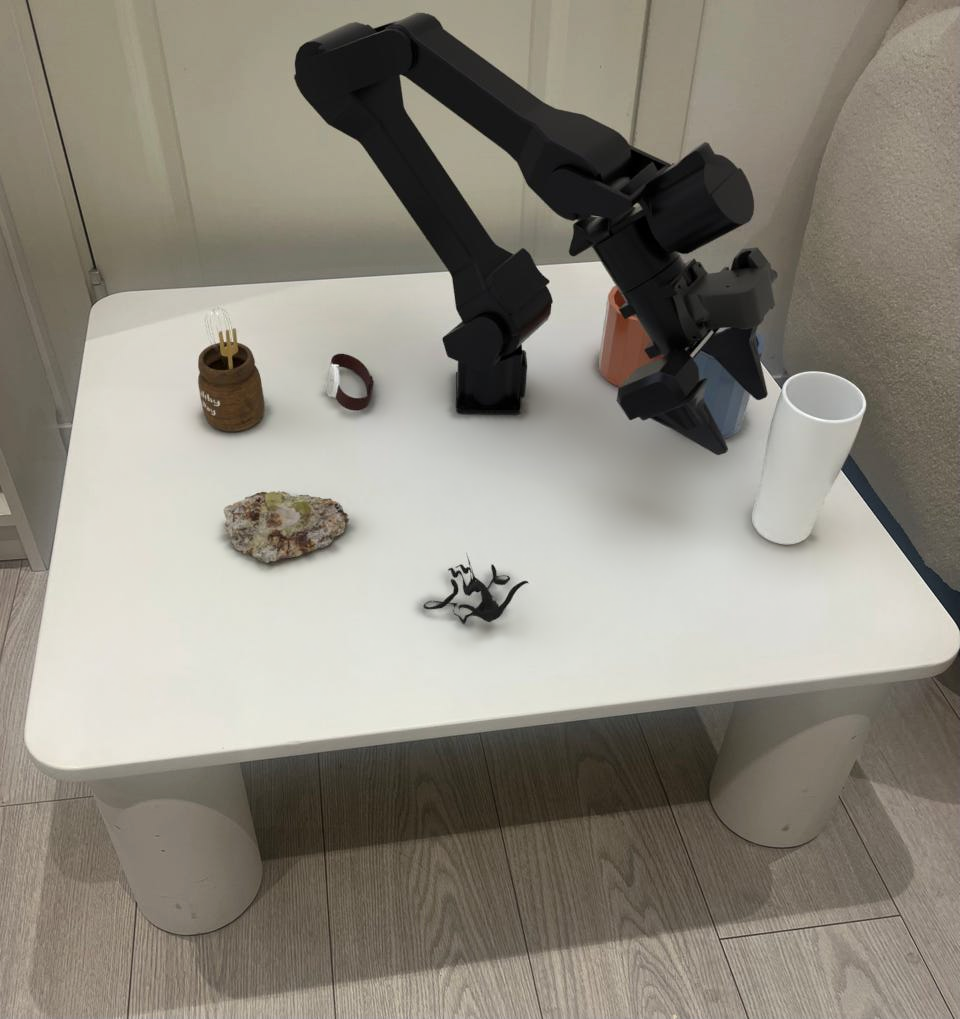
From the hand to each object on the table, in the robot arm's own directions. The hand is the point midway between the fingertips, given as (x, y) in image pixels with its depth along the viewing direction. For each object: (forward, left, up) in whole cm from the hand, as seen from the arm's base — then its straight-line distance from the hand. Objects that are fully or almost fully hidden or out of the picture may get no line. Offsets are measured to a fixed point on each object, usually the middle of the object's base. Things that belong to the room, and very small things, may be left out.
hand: (743, 424), depth 88 cm
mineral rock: (-40, -6, -9) cm, 41 cm away
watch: (-36, +14, -9) cm, 39 cm away
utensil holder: (-47, +10, -9) cm, 49 cm away
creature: (-24, -14, -9) cm, 29 cm away
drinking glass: (+4, -4, -9) cm, 10 cm away
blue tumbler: (0, +11, -8) cm, 14 cm away
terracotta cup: (-6, +19, -8) cm, 22 cm away
